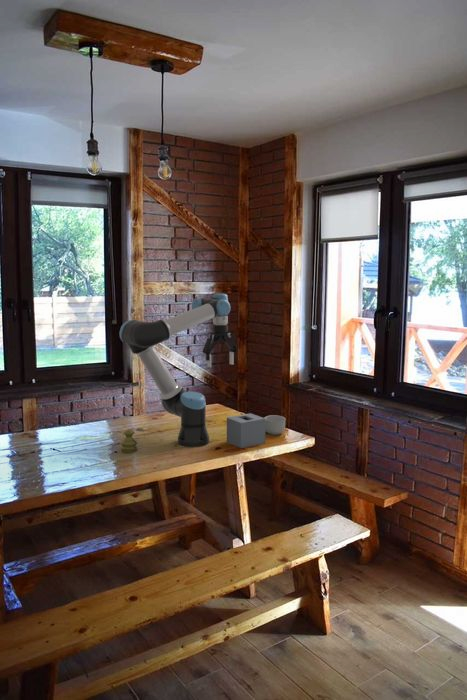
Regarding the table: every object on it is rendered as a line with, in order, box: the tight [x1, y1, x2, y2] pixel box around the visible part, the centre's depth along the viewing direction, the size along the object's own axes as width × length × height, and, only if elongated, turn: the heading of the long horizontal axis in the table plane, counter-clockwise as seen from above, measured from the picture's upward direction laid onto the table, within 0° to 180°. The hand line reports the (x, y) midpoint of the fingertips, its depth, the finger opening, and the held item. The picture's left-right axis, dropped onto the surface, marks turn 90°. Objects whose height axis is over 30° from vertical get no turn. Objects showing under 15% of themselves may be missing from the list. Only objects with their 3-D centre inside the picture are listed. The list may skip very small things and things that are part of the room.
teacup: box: [264, 414, 286, 436], centre depth 292 cm, size 14×11×8 cm
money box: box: [226, 412, 266, 449], centre depth 276 cm, size 14×12×12 cm
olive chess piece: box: [120, 428, 138, 454], centre depth 263 cm, size 7×7×10 cm
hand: (220, 365), depth 298 cm, fingers open, 13 cm apart
